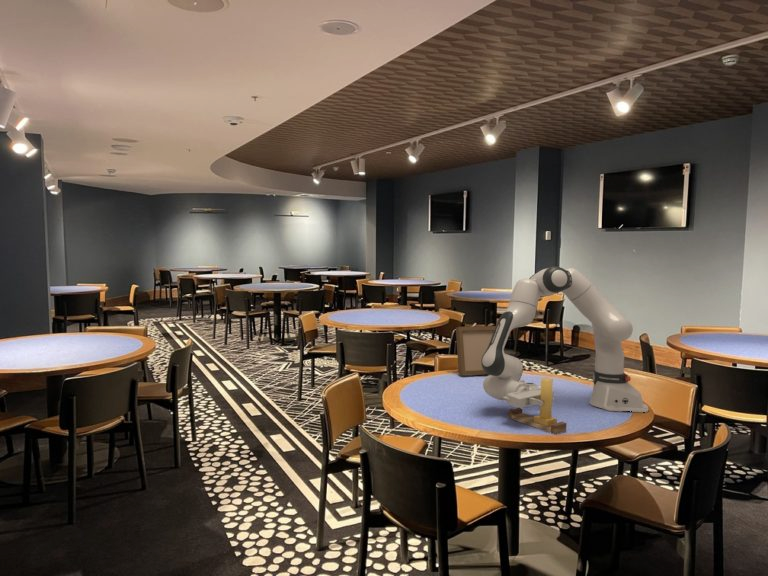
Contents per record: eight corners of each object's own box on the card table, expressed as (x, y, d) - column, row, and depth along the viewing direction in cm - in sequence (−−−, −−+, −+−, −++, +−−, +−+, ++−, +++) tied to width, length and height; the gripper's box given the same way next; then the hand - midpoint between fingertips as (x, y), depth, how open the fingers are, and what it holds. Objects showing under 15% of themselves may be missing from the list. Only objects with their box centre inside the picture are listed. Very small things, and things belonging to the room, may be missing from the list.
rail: (507, 417, 207) (508, 410, 206) (518, 415, 210) (518, 407, 210) (555, 434, 189) (555, 426, 188) (566, 431, 192) (566, 423, 192)
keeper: (534, 421, 197) (535, 378, 196) (542, 419, 200) (544, 377, 198) (547, 426, 192) (549, 382, 191) (556, 423, 195) (558, 380, 194)
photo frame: (501, 375, 277) (502, 327, 275) (462, 377, 271) (463, 328, 270) (489, 369, 291) (490, 323, 290) (451, 371, 286) (452, 324, 284)
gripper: (499, 389, 200) (529, 397, 188) (535, 382, 211) (565, 390, 200) (499, 405, 200) (528, 415, 189) (535, 397, 212) (565, 406, 200)
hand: (547, 402), depth 194 cm, fingers closed on keeper, 4 cm apart
